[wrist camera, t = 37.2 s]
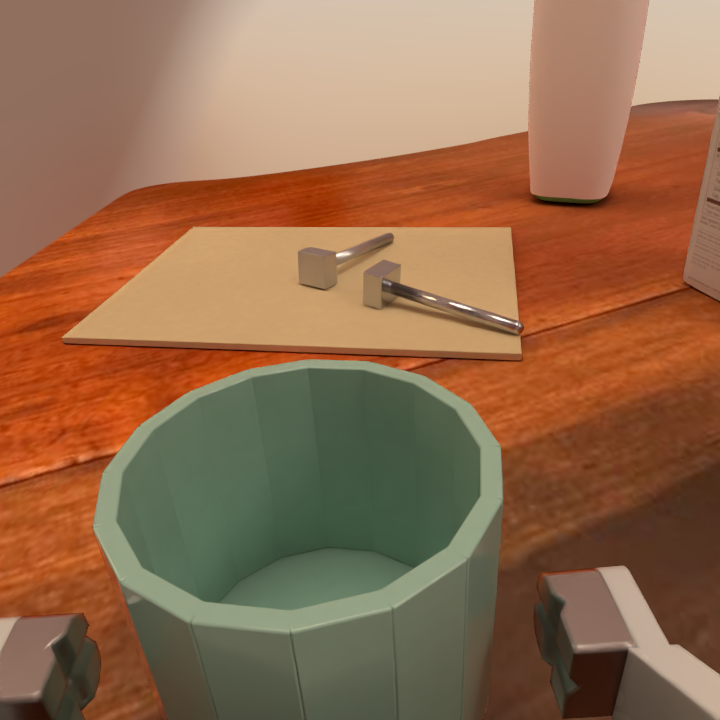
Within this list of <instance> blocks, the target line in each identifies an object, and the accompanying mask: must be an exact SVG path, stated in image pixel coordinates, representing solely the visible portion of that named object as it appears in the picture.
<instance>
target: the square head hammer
mask: <svg viewBox="0 0 720 720" xmlns="http://www.w3.org/2000/svg"><path fill="white" fill-rule="evenodd" d="M393 240H394V235H393V234H392V233H386V234H383V235H381V236H379V237H376V238H374V239H371V240H369V241H366V242H364V243H361V244H359V245H356V246H354V247H351V248H349V249H346V250H344V251H342V252H339V253H337V254H336V252H334V251H329V250H324V249H319V248H314V247H308V248H305V249H302V250H300V251H298V272H299V283H300V284H305V285H309V286H313V287H317V288H321V289H327V288H329V287H331V286H333V285H336V284H337V266H338V265H340V264H342V263H345V262H347V261H349V260H352V259H354V258H356V257H359V256H361V255H363V254H366V253H368V252H370V251H373V250H375V249H377V248H380V247H382V246H384V245H387V244H389V243H391V242H393Z"/></svg>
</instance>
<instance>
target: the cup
mask: <svg viewBox="0 0 720 720" xmlns="http://www.w3.org/2000/svg"><path fill="white" fill-rule="evenodd" d="M648 5H649V0H535V2H534V16H533V30H532V43H531V63H530V81H529V123H528V132H529V170H530V189H531V193H532V194H533V195H534V196H536V197H537V198H538V199H540V200H545V201H555V202H569V203H587V204H589V203H596V202H599V201H600V200H601V199H603V198H604V197H606V196H607V194H608V192H609V190H610V188H611V185H612V182H613V178H614V174H615V171H616V167H617V163H618V160H619V156H620V152H621V148H622V144H623V140H624V135H625V131H626V127H627V123H628V119H629V114H630V109H631V104H632V98H633V94H634V89H635V84H636V79H637V73H638V67H639V62H640V56H641V50H642V44H643V38H644V32H645V25H646V19H647V12H648Z"/></svg>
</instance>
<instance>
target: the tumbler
mask: <svg viewBox="0 0 720 720" xmlns="http://www.w3.org/2000/svg"><path fill="white" fill-rule="evenodd" d="M503 501H504V497H503V475H502V454H501V447H500V444H499V443H498V442H497V440H496V439H495V437H494V436H493V434H492V433H491V432H490V430H489V429H488V427H487V426H486V424H485V423H484V422H483V420H482V419H481V417H480V416H479V415H478V413H477V412H476V410H475V409H474V407H473V406H472V405H470V403H469V402H467V401H465V400H464V399H462V398H460V397H459V396H457V395H455V394H454V393H452V392H450V391H449V390H447V389H445V388H444V387H442V386H440V385H439V384H437V383H436V382H434V381H432V380H431V379H429V378H427V377H424V376H423V375H419V374H415V373H412V372H408V371H404V370H400V369H396V368H392V367H389V366H385V365H381V364H377V363H373V362H367V361H344V360H313V359H310V360H301V361H295V362H289V363H283V364H277V365H271V366H265V367H259V368H253V369H248V370H244V371H242V372H239V373H236V374H234V375H231V376H229V377H226V378H223V379H221V380H218V381H216V382H213V383H210V384H208V385H205V386H202V387H200V388H197V389H195V390H192V391H190V392H189V393H186V394H184V395H183V396H182V397H180V398H179V399H177V400H176V401H174V402H173V403H171V404H170V405H168V406H167V407H165V408H164V409H163V410H161V411H160V412H158V413H157V414H155V415H154V416H152V417H151V418H149V419H148V420H146V421H145V422H143V423H142V424H141V425H139V427H137V428H136V429H135V431H134V432H133V433H132V435H131V436H130V437H129V438H128V440H127V441H126V442H125V444H124V445H123V446H122V448H121V449H120V450H119V451H118V453H117V454H116V455H115V457H114V458H113V459H112V461H111V462H110V463H109V465H108V466H107V467H106V468H105V470H104V471H103V474H102V476H101V482H100V488H99V493H98V499H97V505H96V510H95V516H94V521H93V532H94V535H95V538H96V541H97V543H98V546H99V549H100V551H101V554H102V557H103V560H104V562H105V565H106V568H107V571H108V573H109V576H110V579H111V581H112V584H113V587H114V590H115V592H116V595H117V598H118V601H119V603H120V606H121V609H122V611H123V614H124V617H125V620H126V622H127V625H128V628H129V631H130V633H131V636H132V639H133V641H134V644H135V647H136V650H137V652H138V655H139V658H140V661H141V663H142V666H143V669H144V671H145V674H146V677H147V680H148V682H149V685H150V688H151V690H152V693H153V696H154V699H155V701H156V704H157V707H158V710H159V712H160V715H161V718H162V720H485V711H486V709H487V705H488V699H489V686H490V673H491V659H492V646H493V633H494V620H495V607H496V593H497V580H498V567H499V554H500V540H501V527H502V514H503Z"/></svg>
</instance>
